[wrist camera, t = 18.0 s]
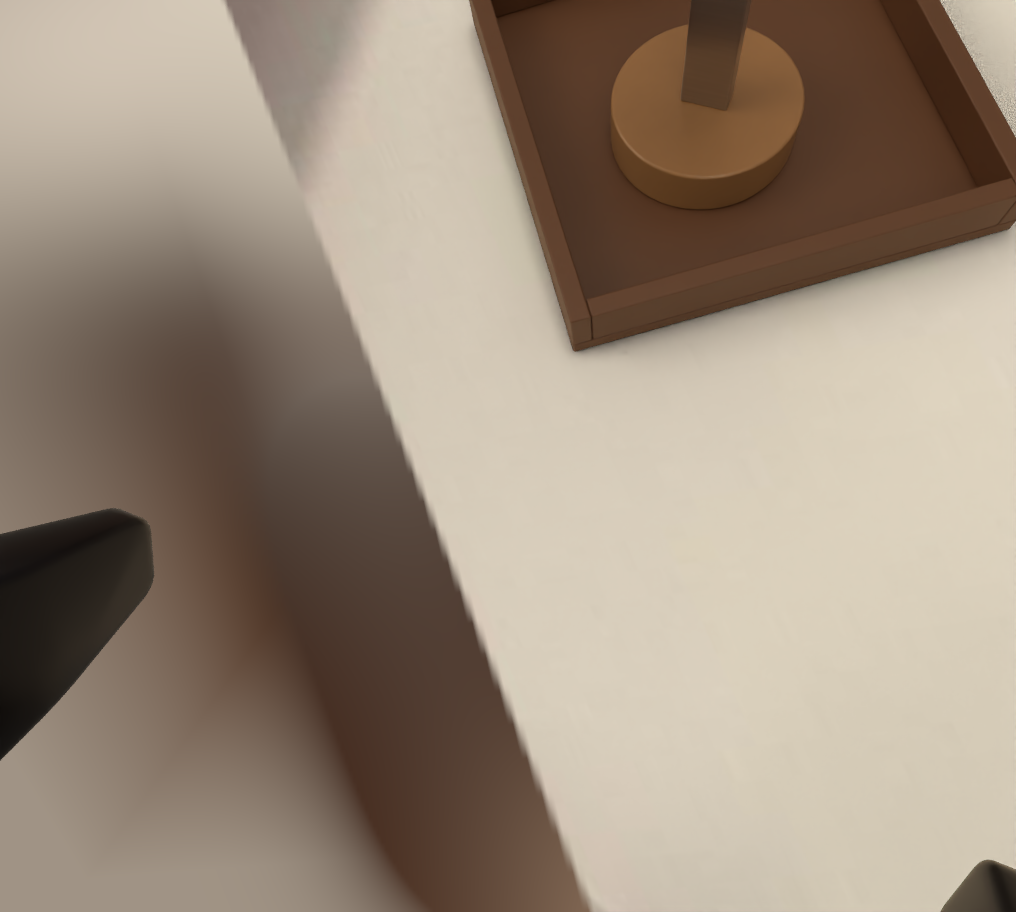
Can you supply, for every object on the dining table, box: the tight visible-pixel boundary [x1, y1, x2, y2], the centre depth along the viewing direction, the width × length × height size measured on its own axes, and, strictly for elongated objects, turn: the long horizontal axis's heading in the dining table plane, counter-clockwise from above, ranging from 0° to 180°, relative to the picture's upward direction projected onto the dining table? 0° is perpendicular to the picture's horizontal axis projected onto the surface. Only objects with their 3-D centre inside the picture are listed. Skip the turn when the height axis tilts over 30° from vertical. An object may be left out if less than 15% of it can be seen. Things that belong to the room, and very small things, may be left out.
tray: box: [469, 0, 1016, 351], centre depth 25 cm, size 13×13×2 cm
